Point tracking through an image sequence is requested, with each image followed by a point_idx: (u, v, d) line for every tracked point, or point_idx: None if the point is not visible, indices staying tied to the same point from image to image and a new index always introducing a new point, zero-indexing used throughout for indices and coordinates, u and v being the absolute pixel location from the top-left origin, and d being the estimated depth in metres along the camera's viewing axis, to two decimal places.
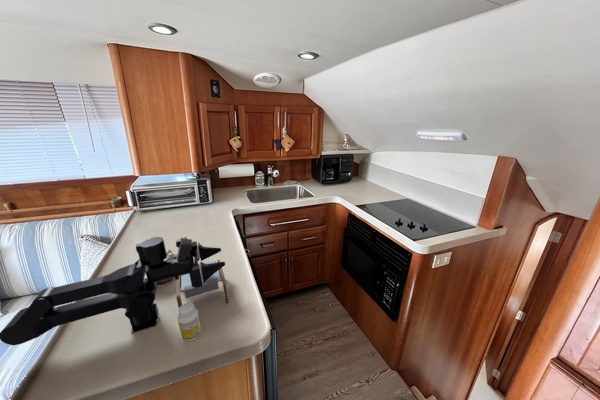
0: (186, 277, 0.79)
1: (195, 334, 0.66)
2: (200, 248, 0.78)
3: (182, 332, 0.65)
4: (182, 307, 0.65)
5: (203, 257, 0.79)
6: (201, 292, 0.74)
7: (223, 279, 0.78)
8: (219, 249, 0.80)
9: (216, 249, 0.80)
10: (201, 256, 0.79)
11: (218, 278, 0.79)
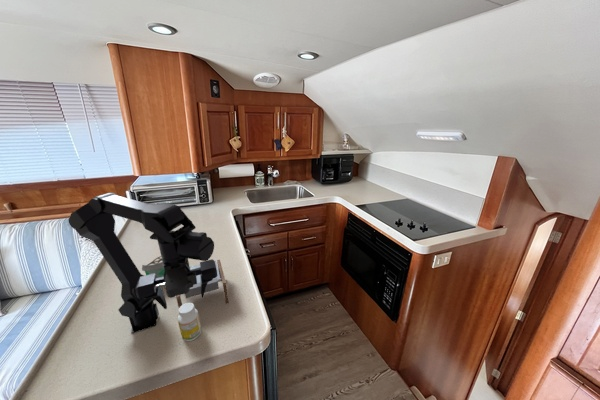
0: None
1: (195, 334, 0.66)
2: (201, 282, 0.63)
3: (182, 332, 0.65)
4: (182, 307, 0.65)
5: (200, 275, 0.66)
6: None
7: (223, 279, 0.78)
8: None
9: (201, 294, 0.65)
10: (200, 275, 0.65)
11: (218, 278, 0.79)
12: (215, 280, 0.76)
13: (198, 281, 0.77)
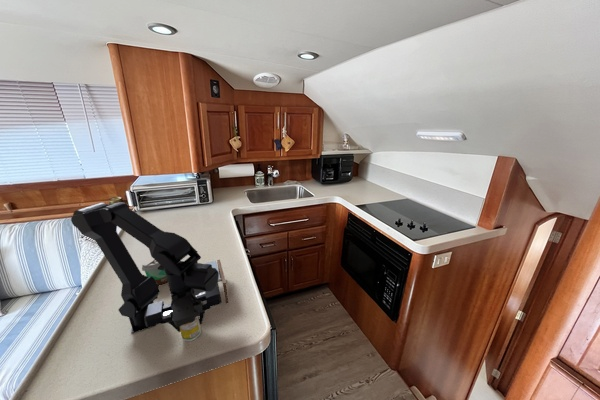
0: None
1: (195, 334, 0.66)
2: None
3: (182, 332, 0.65)
4: None
5: None
6: None
7: (223, 279, 0.78)
8: (200, 322, 0.68)
9: None
10: None
11: (218, 278, 0.79)
12: None
13: None
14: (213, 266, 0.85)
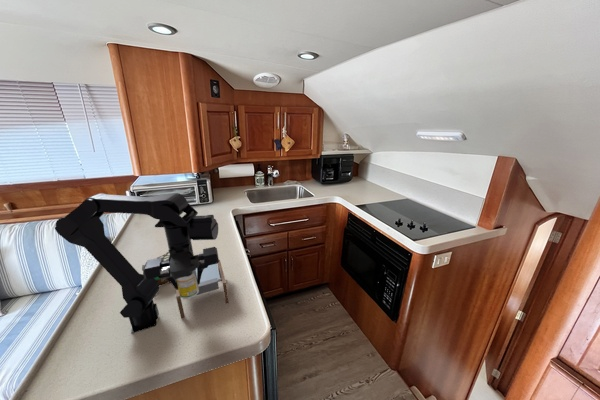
0: None
1: (192, 293, 0.67)
2: (197, 268, 0.66)
3: (180, 290, 0.66)
4: None
5: None
6: (201, 292, 0.74)
7: (223, 279, 0.78)
8: None
9: None
10: None
11: (218, 278, 0.79)
12: (215, 280, 0.76)
13: None
14: (213, 266, 0.85)
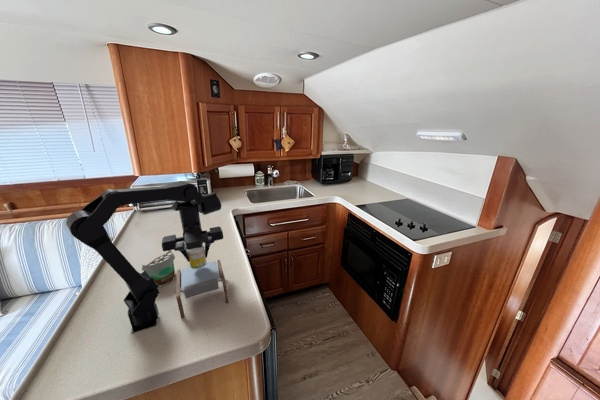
0: (186, 277, 0.79)
1: (201, 264, 0.80)
2: (205, 243, 0.79)
3: (191, 261, 0.79)
4: None
5: None
6: (201, 292, 0.74)
7: (223, 279, 0.78)
8: None
9: (205, 254, 0.82)
10: None
11: (218, 278, 0.79)
12: (215, 280, 0.76)
13: (198, 281, 0.77)
14: (213, 266, 0.85)
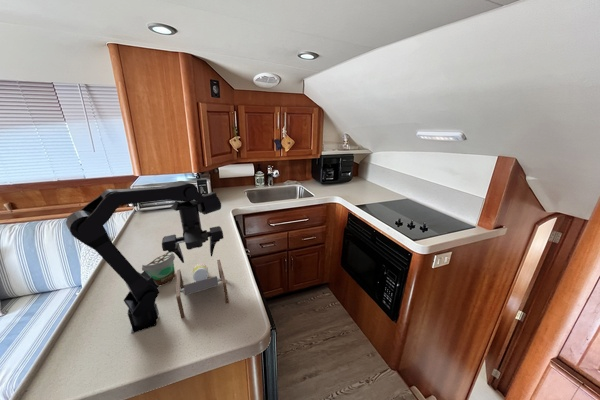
0: None
1: (202, 267, 0.88)
2: (210, 242, 0.80)
3: (194, 270, 0.88)
4: None
5: None
6: (200, 289, 0.74)
7: (223, 279, 0.78)
8: None
9: (210, 253, 0.83)
10: (210, 238, 0.83)
11: (218, 278, 0.79)
12: None
13: None
14: None
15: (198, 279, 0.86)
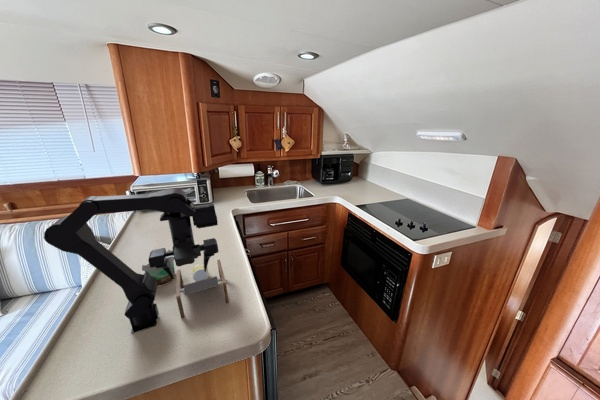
0: None
1: (202, 267, 0.88)
2: (204, 256, 0.72)
3: (194, 270, 0.88)
4: None
5: (203, 252, 0.75)
6: (200, 289, 0.74)
7: (223, 279, 0.78)
8: (204, 270, 0.75)
9: (204, 268, 0.75)
10: (203, 251, 0.75)
11: (218, 278, 0.79)
12: None
13: None
14: None
15: (198, 279, 0.86)
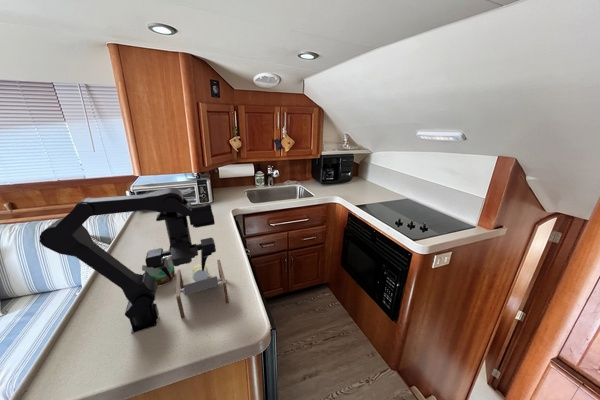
0: None
1: (201, 267, 0.88)
2: (201, 256, 0.72)
3: (193, 270, 0.88)
4: None
5: (201, 251, 0.75)
6: (200, 289, 0.74)
7: (223, 279, 0.78)
8: (202, 269, 0.75)
9: None
10: (201, 251, 0.75)
11: (218, 278, 0.79)
12: None
13: None
14: None
15: (198, 279, 0.86)
